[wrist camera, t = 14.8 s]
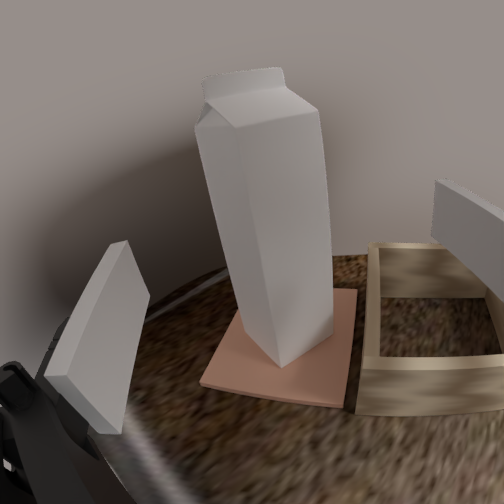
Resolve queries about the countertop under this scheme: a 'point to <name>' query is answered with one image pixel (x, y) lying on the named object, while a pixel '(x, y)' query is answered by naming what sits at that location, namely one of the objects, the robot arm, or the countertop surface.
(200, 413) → the countertop surface
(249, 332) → the milk
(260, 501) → the countertop surface
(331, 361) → the mat
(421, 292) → the holder
